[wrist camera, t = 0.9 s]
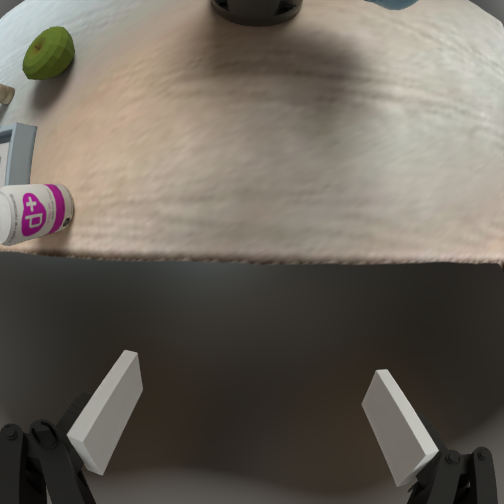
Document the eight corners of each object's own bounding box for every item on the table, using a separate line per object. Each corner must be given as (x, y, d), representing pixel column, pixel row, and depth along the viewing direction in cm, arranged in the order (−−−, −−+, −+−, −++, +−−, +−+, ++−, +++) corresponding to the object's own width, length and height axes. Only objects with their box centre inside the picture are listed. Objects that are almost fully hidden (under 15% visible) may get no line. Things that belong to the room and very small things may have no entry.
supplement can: (78, 186, 37) (15, 189, 22) (73, 234, 39) (12, 254, 24) (47, 180, 36) (-14, 183, 22) (42, 226, 38) (-16, 241, 24)
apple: (62, 39, 30) (35, 22, 20) (95, 40, 31) (68, 18, 21) (37, 85, 32) (6, 73, 22) (67, 90, 33) (34, 75, 23)
